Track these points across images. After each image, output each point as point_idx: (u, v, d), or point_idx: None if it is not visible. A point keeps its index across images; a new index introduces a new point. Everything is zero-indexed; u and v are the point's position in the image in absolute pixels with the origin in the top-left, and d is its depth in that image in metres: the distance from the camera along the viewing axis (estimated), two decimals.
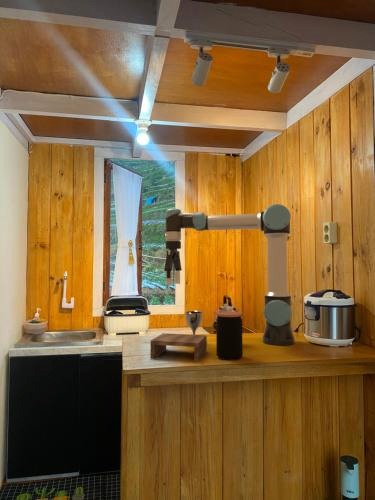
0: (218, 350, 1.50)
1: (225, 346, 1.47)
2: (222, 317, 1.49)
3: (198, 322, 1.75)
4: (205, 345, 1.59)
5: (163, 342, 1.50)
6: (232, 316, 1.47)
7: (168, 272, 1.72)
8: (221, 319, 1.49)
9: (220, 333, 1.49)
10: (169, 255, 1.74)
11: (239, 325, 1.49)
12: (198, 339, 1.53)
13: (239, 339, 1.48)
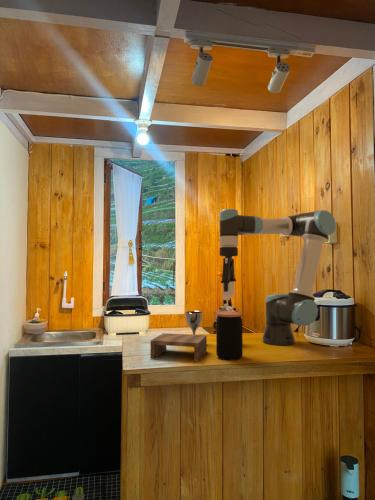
0: (218, 350, 1.50)
1: (225, 346, 1.47)
2: (222, 317, 1.49)
3: (198, 322, 1.75)
4: (205, 345, 1.59)
5: (163, 342, 1.50)
6: (232, 316, 1.47)
7: (226, 284, 1.45)
8: (221, 319, 1.49)
9: (220, 333, 1.49)
10: (226, 264, 1.46)
11: (239, 325, 1.49)
12: (198, 339, 1.53)
13: (239, 339, 1.48)
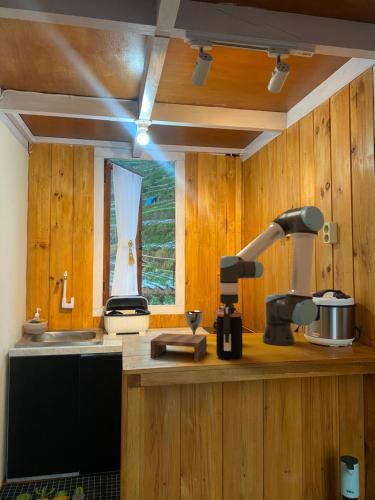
0: (218, 350, 1.50)
1: None
2: (222, 317, 1.49)
3: (198, 322, 1.75)
4: (205, 345, 1.59)
5: (163, 342, 1.50)
6: (232, 316, 1.47)
7: (227, 335, 1.45)
8: (221, 319, 1.49)
9: (220, 333, 1.49)
10: (227, 314, 1.46)
11: (239, 325, 1.49)
12: (198, 339, 1.53)
13: (239, 339, 1.48)
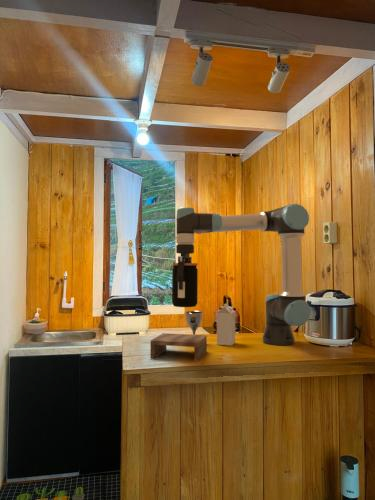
0: (173, 298, 1.54)
1: None
2: (177, 266, 1.53)
3: (198, 322, 1.75)
4: (205, 345, 1.59)
5: (163, 342, 1.50)
6: (186, 264, 1.52)
7: (180, 282, 1.50)
8: (176, 268, 1.53)
9: (175, 281, 1.53)
10: (181, 262, 1.50)
11: (193, 274, 1.53)
12: (198, 339, 1.53)
13: (193, 287, 1.53)
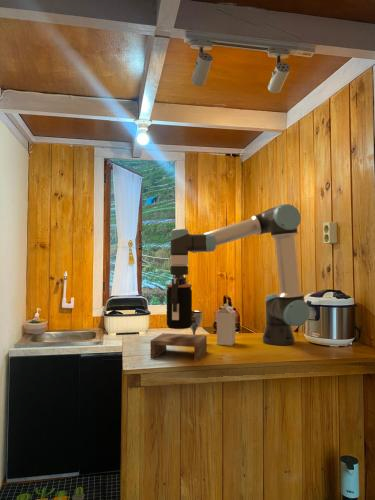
0: (167, 320, 1.54)
1: None
2: (171, 288, 1.53)
3: (198, 322, 1.75)
4: (205, 345, 1.59)
5: (163, 342, 1.50)
6: (180, 286, 1.52)
7: (174, 305, 1.50)
8: (170, 290, 1.54)
9: (169, 303, 1.54)
10: (175, 284, 1.50)
11: (187, 295, 1.53)
12: (198, 339, 1.53)
13: (187, 309, 1.53)
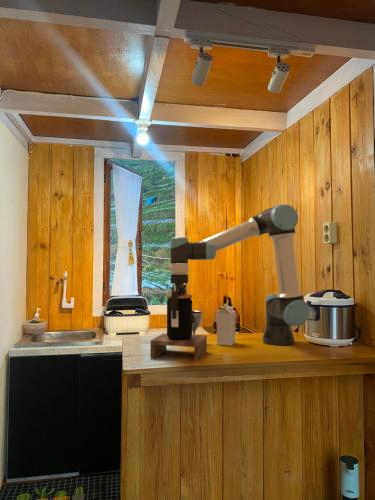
0: (168, 331, 1.54)
1: None
2: None
3: (198, 322, 1.75)
4: (205, 345, 1.59)
5: (163, 342, 1.50)
6: (180, 297, 1.52)
7: (174, 312, 1.49)
8: (170, 300, 1.53)
9: (169, 314, 1.53)
10: (175, 292, 1.50)
11: (188, 306, 1.53)
12: (198, 339, 1.53)
13: (187, 320, 1.53)
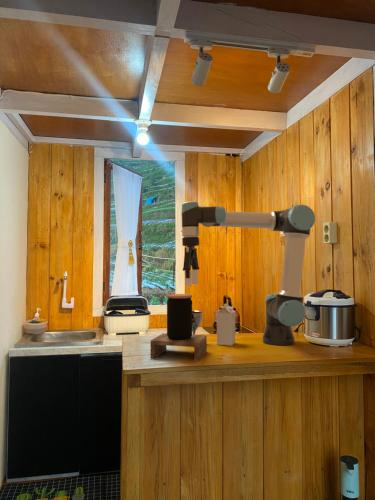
0: (168, 331, 1.54)
1: (173, 326, 1.52)
2: (171, 298, 1.53)
3: (198, 322, 1.75)
4: (205, 345, 1.59)
5: (163, 342, 1.50)
6: (180, 297, 1.52)
7: (187, 271, 1.56)
8: (170, 300, 1.53)
9: (169, 314, 1.53)
10: (188, 253, 1.57)
11: (188, 306, 1.53)
12: (198, 339, 1.53)
13: (187, 320, 1.53)
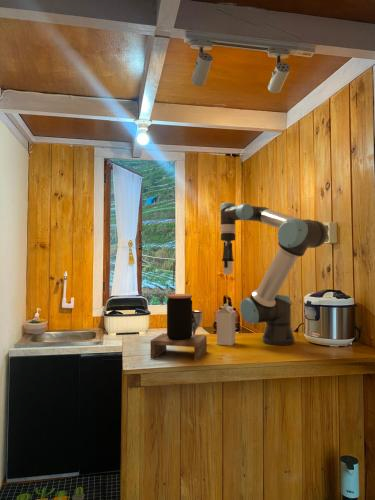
0: (168, 331, 1.54)
1: (173, 326, 1.52)
2: (171, 298, 1.53)
3: (198, 322, 1.75)
4: (205, 345, 1.59)
5: (163, 342, 1.50)
6: (180, 297, 1.52)
7: (226, 262, 1.84)
8: (170, 300, 1.53)
9: (169, 314, 1.53)
10: (226, 246, 1.86)
11: (188, 306, 1.53)
12: (198, 339, 1.53)
13: (187, 320, 1.53)
